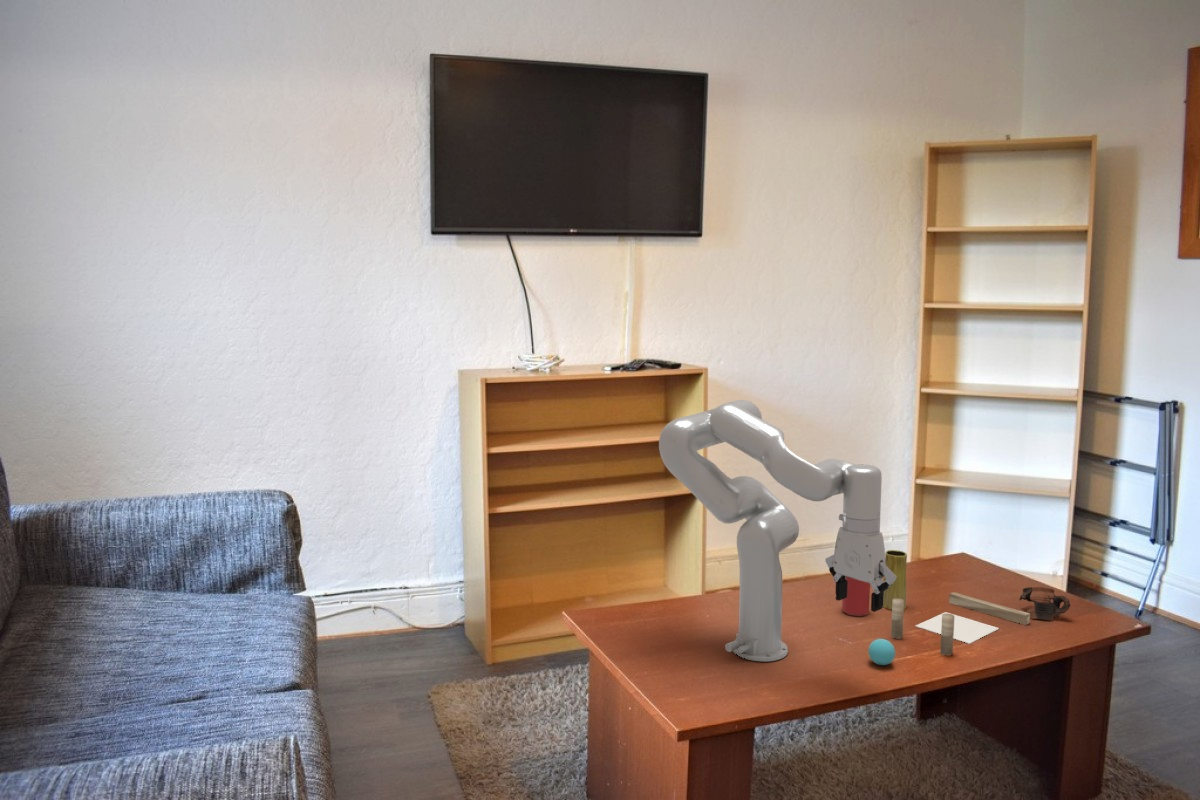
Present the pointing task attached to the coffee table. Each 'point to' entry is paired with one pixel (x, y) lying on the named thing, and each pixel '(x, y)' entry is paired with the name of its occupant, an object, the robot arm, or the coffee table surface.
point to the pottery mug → (1044, 603)
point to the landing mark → (959, 628)
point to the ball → (881, 652)
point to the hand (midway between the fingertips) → (858, 604)
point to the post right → (947, 634)
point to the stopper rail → (989, 608)
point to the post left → (897, 618)
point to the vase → (898, 566)
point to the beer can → (856, 597)
